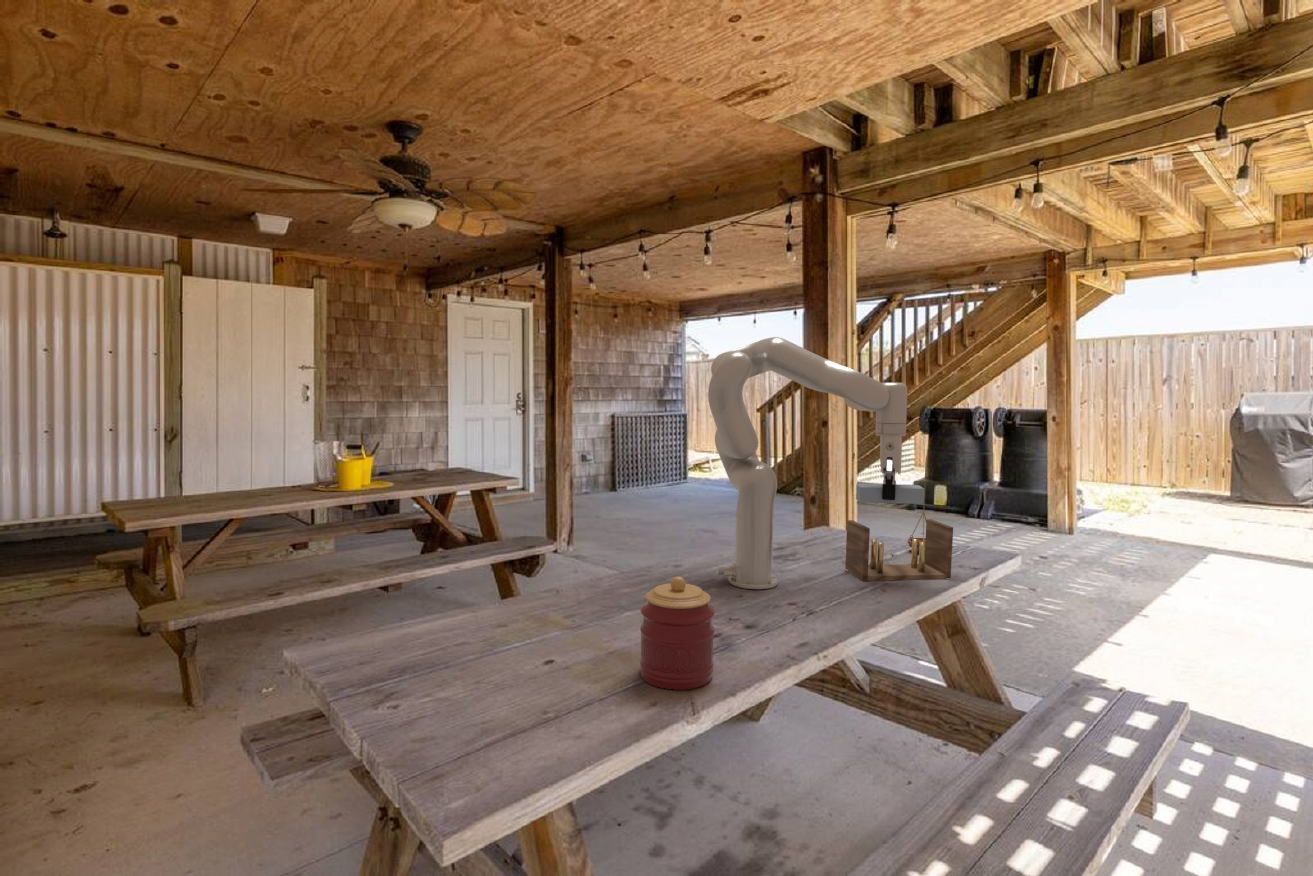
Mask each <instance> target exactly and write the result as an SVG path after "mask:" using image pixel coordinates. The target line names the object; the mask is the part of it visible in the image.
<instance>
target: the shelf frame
mask: <svg viewBox="0 0 1313 876" xmlns="http://www.w3.org/2000/svg"><path fill="white" fill-rule="evenodd" d="M846 521H847V522H846V541H845V543H846V544H845V567H844V568H845V569H847V570H848V571H849V572H851V573H852V574H851V573H850V574H851V575H853V574H854V575H855V576H854V575H853V576H854V577H855V578H857V577H858V578H857V579H859V580H860V581H862V582H867V581H868V582H871V581H873V582H874V581H908V580H909V581H913V580H914V579H915V580H914V581H916V580H917V579H923V580H947V579H946V578H951V577H952V558H953V541H954V538H953V537H954V526H950V525H948V524H945V523H943V522H939V521H937V520H935V519H932V518H931V519H930V518H929V519H927V518H926V520H925V524H926V525H925V538H926V541H925V542H926V553H925V572H919V571H918V566H919V563H917V568H911V563H906V564H905V563H904V564H902V563H901V564H899V563H898V564H895V563H894V564H883V573H877V564H876V569H870V564H869V556H870V533H871V532H870V527H867V526H865V525H863V524H861V523H859V522H857V521H855V520H851V519H847V520H846ZM845 569H844V570H845ZM848 571H847V572H848ZM849 572H848V573H849ZM917 581H918V580H917Z"/></svg>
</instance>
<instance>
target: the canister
mask: <svg viewBox="0 0 1313 876" xmlns="http://www.w3.org/2000/svg"><path fill="white" fill-rule="evenodd" d="M645 600H646V601H647V602H644V604H642V605H641V606H640V614H641V615H642V616H643V619H642V623H641V625H640V627H639V628H640V629H639V630H640V633H641V634H640V659H639V670H640V675H641V679H643V681H645V682H646V683H647V684H649V685H651V686H654V687H657V688H659V687H660V689H664V688H665V690H671V689H674V691H675V690H676V691H683V690H684V691H685V689H686V690H692V689H697V688H700V687H703V686H705V685H706V684H708V683H709V682H710V681H711V679H712V677H713V672H714V669H715V668H714V664H715V662H714V660H713V659H714V634H715V627H714V626H713V624H712V623H713V622H712V620H713V619H712V618H713V617H714V616H715V613H716V610H715V608H714V607H713V606H712V605H711V604H710V602H711V595H710V594H709V593H707V592H706V591H704V590H703V589H702V588H701V587H699V586H698V585H693V584H690V583H687V582H686V581H685V579H684V578H683V577H682V576H675V577H673V578H672V579H671V581H670V582H669V583H663V584H659V585H657V586H655V587H653V589H651V590H649V591H648V592H646V594H645Z"/></svg>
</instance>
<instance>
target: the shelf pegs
mask: <svg viewBox="0 0 1313 876" xmlns="http://www.w3.org/2000/svg"><path fill="white" fill-rule="evenodd" d="M884 552H885V543H884V542H882V541H881V542H878V539H875V538H871V541H870V562H869V565H870V569H876V565H877V573H883V565H884V556H885V555H884ZM925 553H926V542H920V546H919V551H918V539H912V548H911V557H910V558H911V560H910V564H911V568H917V564H919V566H918V571H919V572H925Z"/></svg>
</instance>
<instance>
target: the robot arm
mask: <svg viewBox="0 0 1313 876" xmlns="http://www.w3.org/2000/svg"><path fill="white" fill-rule="evenodd" d="M710 370H711V371H710V372H711V378H710V381H709V383H708V389H707V390H708V392H707V399H708V400H707V401H708V405H709V409H710V411H711V412H710V413H711V415H712V417H713V420H714V423H715V426H716V431H715V434H714V443H715V447H716V450H717V453H718V455H719V458H720V461H721V463H722V466H723V468H724V470H725V473H726V475H727V478H728V479H729V480H728V481H730V484H731V485H732V486H733V488H735V490H737V491H738V496H737V502H736V511H735V512H736V513H735V542H734V543H735V545H734V546H735V550H734V551H735V552H734V555H735V556H734V562H731V565H729V566H728V567H724V566H721V567H719V566H718V567H716V570H715V571H716V575H717V576H723V577H726V578H727V577H728V583H729V584H730V585H732V586H735V587H737V588H741V589H747V590H765V589H766V590H768V589H771V588H775V587H776V586H778V580H779V579H778V577H776V576H774V575H773V552H774V551H773V550H774V549H773V548H774V546H773V545H774V517H775V516H774V511H775V504H776V503H775V502H776V495H777V490H778V480H777V479H778V478H777V476H776V473H775V471H774V470H773V468H772V467H771V466H770V465H769V464H767V463H765V462H764V461H760V460H759V459H760V458H759V457H758V455H757V450H758V449H759V448H758V447H759V438H758V435H757V432H756V430H755V428H754V425H753V423H752V421H751V418H750V416H749V412H748V411H747V408H746V405H745V402H744V398H743V390H744V386H745V384H746V382H747V381H748V379H750V378H753V377H755V376H758V375H760V374H761V375H762V374H764V373H766V372H769V371H770V372H774V373H775V374H778V375H780V376H782V377H785V378H786V379H789V380H791V381H793V382H795V383H797V384H799V385H801V386H803V387H805V388H807V389H810V390H813V391H816V392H820V393H826V394H830V395H834V396H837V397H839V398H842V399H843V400H844V403H845V404H846V405H847V406H848V407H849V408H851V409H852V410H856V411H861V412H862V411H864V412H875V436H878V437H879V436H880V437H879V438H880V439H879V441H880V442H879V445H880V446H879V461H880V464H879V465H880V472H881V474H883V480H882V482H883V483H882V484H883V485H882V499H883V500H895V490H896V485H897V481H896V473H897V474H898V475H900V474H901V473H902V459H903V458H902V452H903V447H902V446H903V444H902V443H903V441H902V440H903V439H902V437H906V436H907V410H908V409H907V408H908V407H907V406H908V387H907V385H906V383H905V382H896V381H895V382H894V381H893V382H880V381H879V380H877V379H875V378H872V377H871V376H869V375H867V374H864V373H862V372H860V371H858V370H855V369H852V368H850V367H848V366H845V365H842V364H840V363H837V362H836V361H833V360H831V359H827V358H826V357H823V356H820V355H818V354H816V353H814V352H811V351H809V350H808V349H805V347H804V348H803V347H802V346H801V345H798V344H795V343H794V342H792V341H789V340H787V339H784V338H782V337H779V336H773V337H769V338H764V339H760V340H758V341H755V342H751V343H750V344H748V345H745V346H741V347H739V348H738V347H737V348H735V349H731V350H729V351H725V352H722V353H720V354H718V355H717V356H716V357H715V358H714V359H713V361H712V363H711V366H710Z"/></svg>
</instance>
